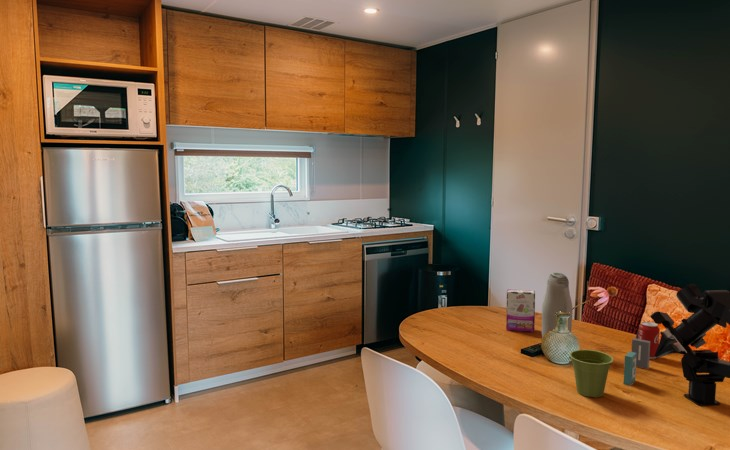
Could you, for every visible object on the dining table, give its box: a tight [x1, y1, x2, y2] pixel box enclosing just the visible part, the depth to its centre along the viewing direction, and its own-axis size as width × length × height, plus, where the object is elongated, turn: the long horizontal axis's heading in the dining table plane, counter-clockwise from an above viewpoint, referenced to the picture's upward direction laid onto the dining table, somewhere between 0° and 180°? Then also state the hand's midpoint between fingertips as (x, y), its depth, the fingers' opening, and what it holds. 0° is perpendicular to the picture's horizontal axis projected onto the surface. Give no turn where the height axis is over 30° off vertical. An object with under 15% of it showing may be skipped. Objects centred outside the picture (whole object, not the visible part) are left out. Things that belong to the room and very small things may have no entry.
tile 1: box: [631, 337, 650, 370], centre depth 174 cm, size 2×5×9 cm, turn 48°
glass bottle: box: [541, 272, 573, 339], centre depth 191 cm, size 10×10×28 cm
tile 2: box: [623, 351, 637, 387], centre depth 161 cm, size 2×5×9 cm, turn 138°
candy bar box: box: [505, 288, 536, 333], centre depth 213 cm, size 11×5×16 cm, turn 73°
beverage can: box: [638, 321, 661, 360], centre depth 182 cm, size 6×6×12 cm
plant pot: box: [569, 349, 614, 398], centre depth 153 cm, size 12×12×11 cm
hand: (656, 356), depth 156 cm, fingers closed
